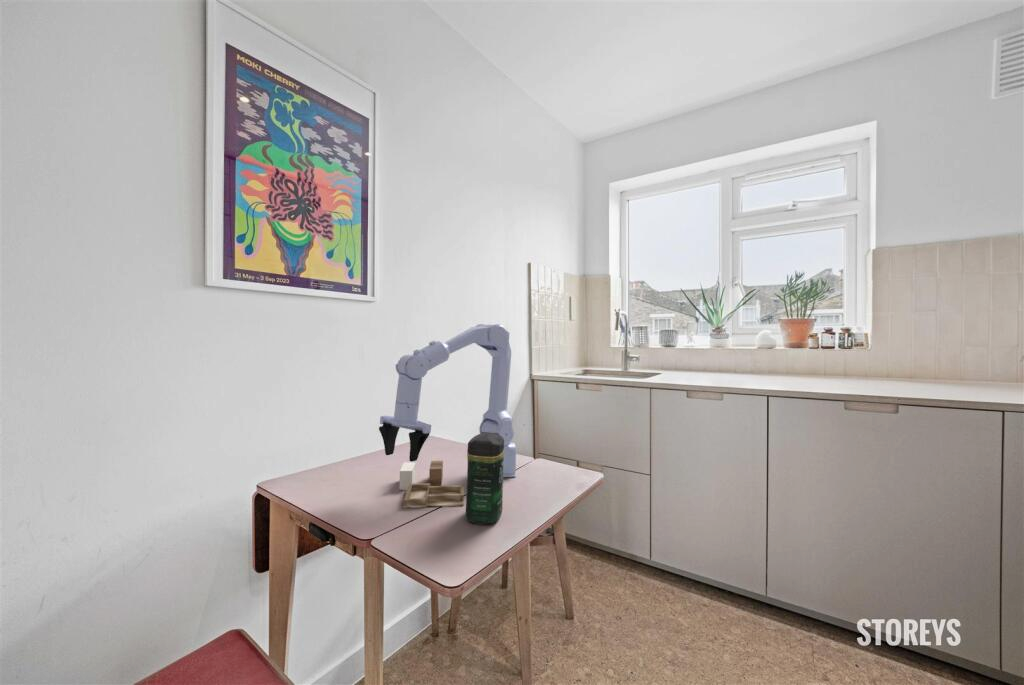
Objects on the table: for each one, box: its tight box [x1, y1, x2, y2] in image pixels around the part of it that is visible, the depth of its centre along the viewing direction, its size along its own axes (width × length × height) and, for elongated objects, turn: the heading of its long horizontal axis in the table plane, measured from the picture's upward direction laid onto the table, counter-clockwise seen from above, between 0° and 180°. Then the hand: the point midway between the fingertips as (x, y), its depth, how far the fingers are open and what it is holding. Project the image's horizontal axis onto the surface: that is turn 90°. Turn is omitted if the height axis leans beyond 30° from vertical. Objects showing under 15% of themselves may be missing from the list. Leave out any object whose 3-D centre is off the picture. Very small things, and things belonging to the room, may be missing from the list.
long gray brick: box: [398, 461, 416, 491], centre depth 107 cm, size 3×7×5 cm, turn 7°
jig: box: [402, 482, 465, 508], centre depth 99 cm, size 14×10×2 cm
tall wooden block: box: [428, 460, 444, 486], centre depth 110 cm, size 7×3×5 cm, turn 7°
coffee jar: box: [465, 432, 504, 525], centre depth 90 cm, size 10×8×19 cm
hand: (401, 457), depth 98 cm, fingers open, 7 cm apart
